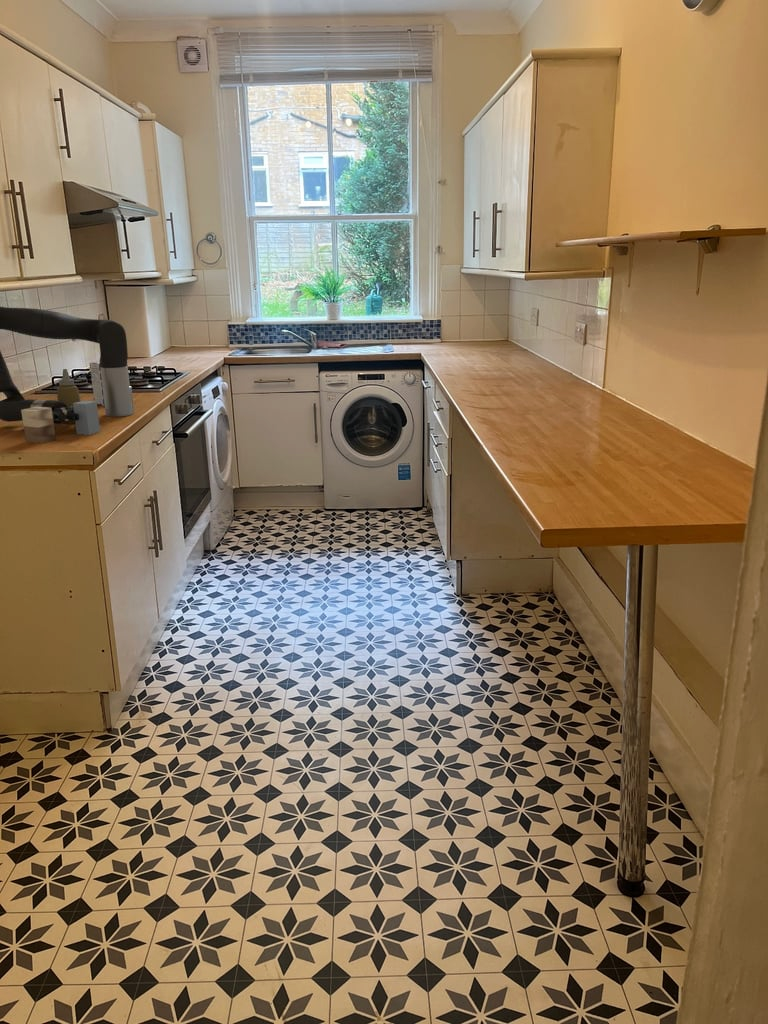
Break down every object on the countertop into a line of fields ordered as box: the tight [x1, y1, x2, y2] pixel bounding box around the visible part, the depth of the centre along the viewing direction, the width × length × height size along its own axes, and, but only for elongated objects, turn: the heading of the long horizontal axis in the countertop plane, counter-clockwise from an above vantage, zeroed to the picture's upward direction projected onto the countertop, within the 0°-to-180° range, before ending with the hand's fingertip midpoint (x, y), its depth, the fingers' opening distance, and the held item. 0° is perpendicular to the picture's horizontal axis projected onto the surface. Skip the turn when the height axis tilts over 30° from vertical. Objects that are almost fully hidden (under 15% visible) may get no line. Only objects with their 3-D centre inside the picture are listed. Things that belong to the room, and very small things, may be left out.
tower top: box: [21, 407, 55, 428], centre depth 236 cm, size 6×6×5 cm
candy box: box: [89, 360, 131, 407], centre depth 300 cm, size 14×6×16 cm, turn 149°
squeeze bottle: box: [56, 368, 82, 424], centre depth 264 cm, size 8×8×18 cm
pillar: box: [73, 400, 101, 436], centre depth 247 cm, size 5×5×10 cm
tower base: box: [23, 423, 57, 445], centre depth 237 cm, size 6×6×5 cm
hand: (87, 414), depth 246 cm, fingers open, 8 cm apart
